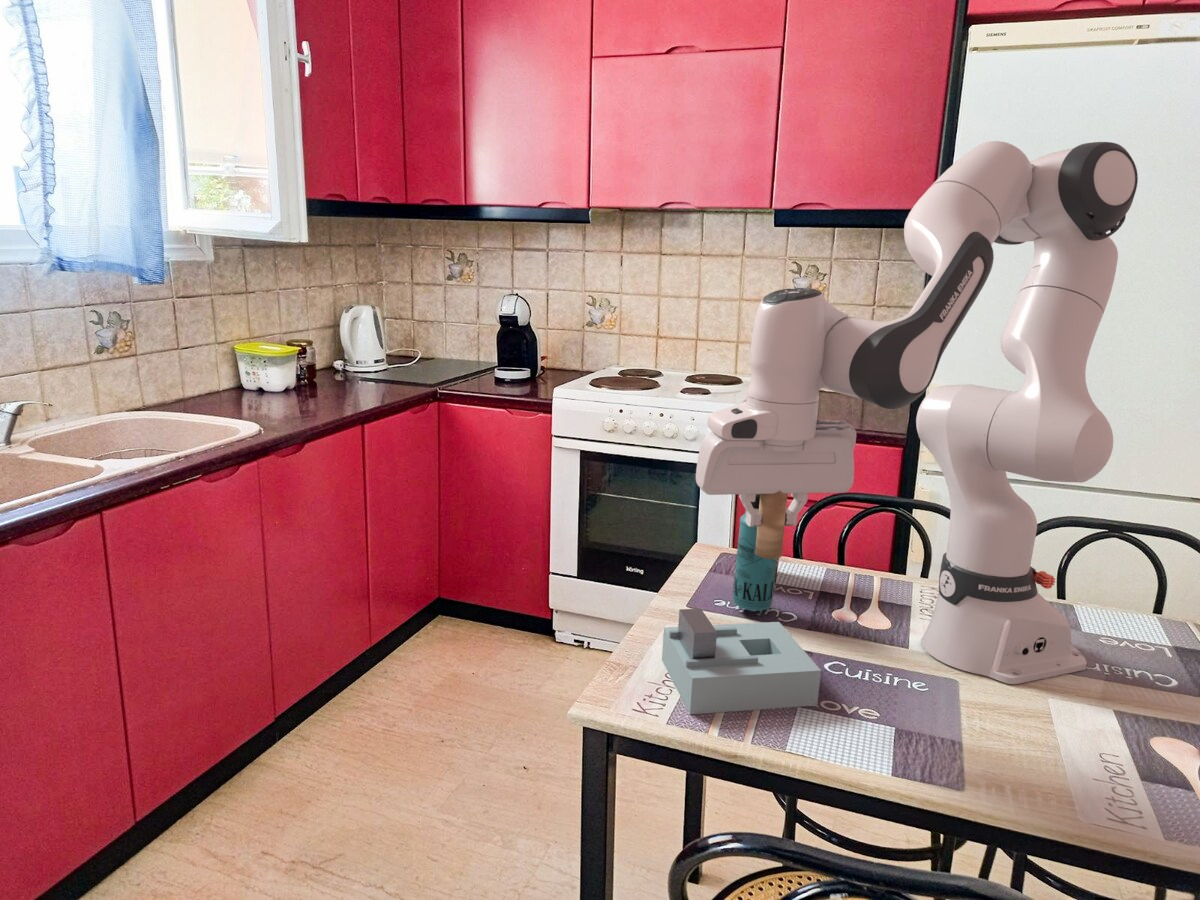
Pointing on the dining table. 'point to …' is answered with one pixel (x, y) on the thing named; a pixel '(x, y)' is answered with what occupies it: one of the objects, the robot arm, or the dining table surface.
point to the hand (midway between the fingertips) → (770, 524)
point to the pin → (771, 525)
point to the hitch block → (743, 670)
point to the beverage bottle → (752, 570)
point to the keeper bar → (697, 634)
